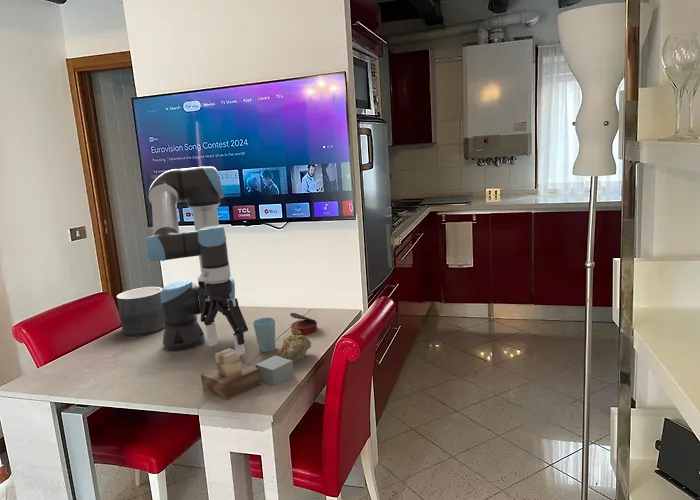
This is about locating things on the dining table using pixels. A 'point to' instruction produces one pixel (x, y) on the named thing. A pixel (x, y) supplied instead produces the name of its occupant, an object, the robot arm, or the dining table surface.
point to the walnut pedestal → (230, 382)
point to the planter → (141, 311)
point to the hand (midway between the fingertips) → (226, 349)
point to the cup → (265, 333)
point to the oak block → (227, 362)
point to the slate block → (275, 369)
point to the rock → (294, 347)
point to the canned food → (303, 325)
